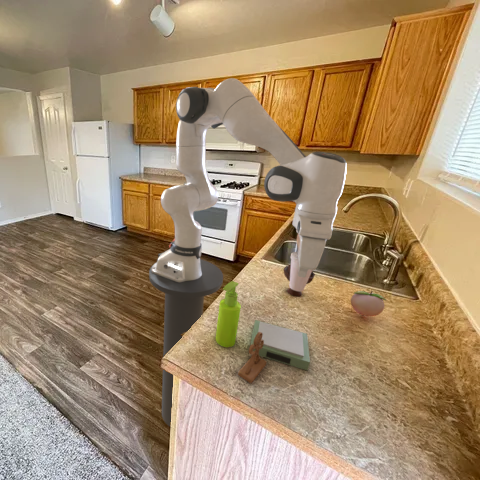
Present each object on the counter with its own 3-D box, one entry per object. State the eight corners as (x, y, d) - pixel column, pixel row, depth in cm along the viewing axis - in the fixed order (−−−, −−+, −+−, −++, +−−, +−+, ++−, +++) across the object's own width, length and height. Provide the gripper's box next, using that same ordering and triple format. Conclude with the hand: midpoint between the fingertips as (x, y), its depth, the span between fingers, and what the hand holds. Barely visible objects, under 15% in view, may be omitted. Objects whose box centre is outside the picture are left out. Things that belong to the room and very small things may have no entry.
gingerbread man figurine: (253, 356, 75) (259, 321, 70) (266, 364, 72) (274, 328, 68) (237, 374, 69) (243, 338, 64) (251, 383, 66) (258, 346, 62)
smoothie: (281, 280, 77) (291, 235, 72) (305, 283, 76) (316, 237, 71) (287, 292, 71) (298, 244, 66) (313, 295, 70) (326, 246, 65)
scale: (248, 353, 76) (250, 343, 74) (253, 327, 86) (255, 318, 85) (307, 372, 70) (310, 361, 69) (305, 341, 80) (307, 331, 79)
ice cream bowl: (289, 282, 113) (296, 250, 108) (315, 295, 104) (324, 261, 99) (273, 289, 108) (280, 256, 102) (300, 303, 99) (309, 267, 93)
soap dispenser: (209, 342, 79) (216, 284, 72) (221, 330, 84) (228, 275, 77) (227, 352, 76) (235, 292, 68) (238, 340, 80) (247, 283, 73)
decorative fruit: (353, 321, 90) (362, 296, 86) (344, 307, 97) (351, 283, 94) (385, 325, 88) (395, 300, 84) (373, 311, 95) (382, 287, 92)
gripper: (297, 209, 76) (288, 253, 81) (300, 230, 59) (288, 284, 64) (322, 212, 74) (311, 257, 79) (333, 235, 56) (317, 290, 61)
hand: (300, 269), depth 71 cm, fingers closed on smoothie, 6 cm apart
